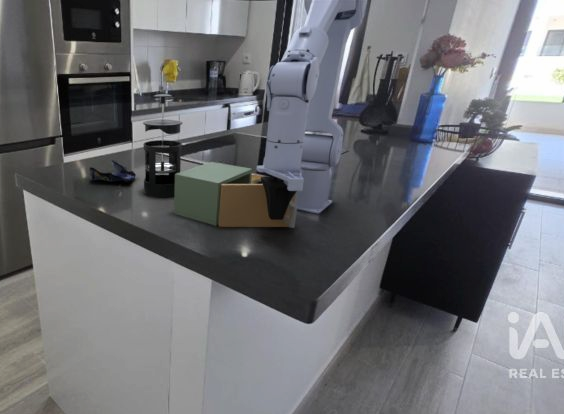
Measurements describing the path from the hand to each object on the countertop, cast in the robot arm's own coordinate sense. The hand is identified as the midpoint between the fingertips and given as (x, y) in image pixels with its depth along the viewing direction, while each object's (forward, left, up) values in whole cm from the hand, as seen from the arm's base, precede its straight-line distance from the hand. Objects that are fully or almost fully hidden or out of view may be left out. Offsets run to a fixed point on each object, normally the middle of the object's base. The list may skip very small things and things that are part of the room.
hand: (275, 218), depth 66 cm
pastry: (-24, -16, -4) cm, 29 cm away
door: (-1, -4, -4) cm, 5 cm away
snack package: (-7, -48, -4) cm, 48 cm away
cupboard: (-5, -16, -4) cm, 17 cm away
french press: (-8, -32, -4) cm, 33 cm away
